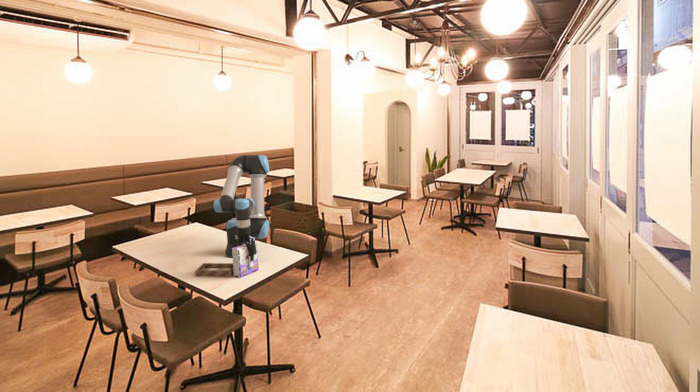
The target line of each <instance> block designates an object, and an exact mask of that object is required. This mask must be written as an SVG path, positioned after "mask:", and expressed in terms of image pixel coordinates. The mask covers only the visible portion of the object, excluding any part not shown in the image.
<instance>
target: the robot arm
mask: <svg viewBox="0 0 700 392" xmlns="http://www.w3.org/2000/svg"><path fill="white" fill-rule="evenodd" d="M269 163H270V162H269V159H268V157H267V156H266V155H264V154H263V155H262V154H243V155H239V156H237V157H235V158H234V159H233V160H232V161H231V162H230V163H229V165H228V167H227V176H226V179H225V182H224V184H223V185H224V186H223V188H222V191H221V193H220V197H219V198H218V199H214V201H213V209H214V212H215V213H235V218H232V219H229V220H228V221H227V222H226V224H225V226H226V228H225V229H226V247H225V252H224V253H225V257H228V258H232V248H234V247H237V246H241V245H243V244H245V245H246V246H247V249H248V252H249V254H250V256H249V267H252V266H253V261H254V255H255V254H258V251H257V252H256V244H255V243H256V239H259V240H260V239H265V238H267V237H268V234H269V230H270V221H269V220H268V218H267V215H265V178H266V177H267V175H268V174H269V173H270V164H269ZM243 174H248V177H249V178H250V197H245V198H238V199H237V198H236V199H235V196H236V192H237V189H238V185H239V181H240V178H241V176H243Z"/></svg>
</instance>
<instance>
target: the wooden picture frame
mask: <svg viewBox="0 0 700 392" xmlns="http://www.w3.org/2000/svg"><path fill="white" fill-rule="evenodd" d="M194 272H195V277H201V278H202V277H206V278H207V277H214V278H215V277H216V278H217V277H218V278H219V277H220V278H222V277H224V278H225V277H226V278H228V277H232V276H234V273H233V262H231V263H228V262H226V263H224V262H223V263H222V262H221V263H220V262H218V263H217V262H210V263H209V262H205V263H202V264H201V265H200V266H199V267H198V268H196V269H195V271H194Z"/></svg>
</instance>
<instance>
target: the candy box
mask: <svg viewBox="0 0 700 392" xmlns="http://www.w3.org/2000/svg"><path fill="white" fill-rule="evenodd" d="M255 244H256V252H257V254H255V255H254V261H253V266H252V267H249V256H250V254H249V252H248V249H247V246H246V245H245V244H243V245H241V246H237V247H234V248H232V257H231V259H232V263H233V273H234V274H233V276H234V277H237V278H239V279H240V278H242V277H245V276H247V275H250V274H252V273H255V272H256V271H259V256H258V244H257V243H256V242H255Z"/></svg>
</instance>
